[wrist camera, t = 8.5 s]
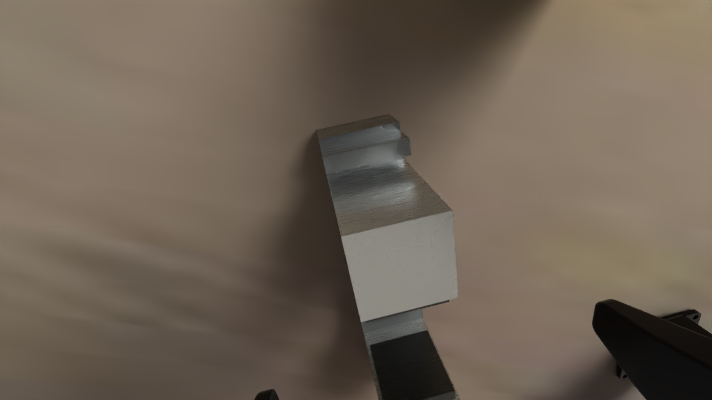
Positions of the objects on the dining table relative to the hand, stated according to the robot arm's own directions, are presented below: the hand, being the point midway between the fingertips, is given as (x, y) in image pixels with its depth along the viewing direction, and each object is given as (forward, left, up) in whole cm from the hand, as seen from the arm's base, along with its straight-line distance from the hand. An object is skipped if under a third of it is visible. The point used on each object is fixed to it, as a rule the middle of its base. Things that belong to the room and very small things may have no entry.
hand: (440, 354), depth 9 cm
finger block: (0, 0, -10) cm, 10 cm away
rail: (-5, 0, -12) cm, 13 cm away
